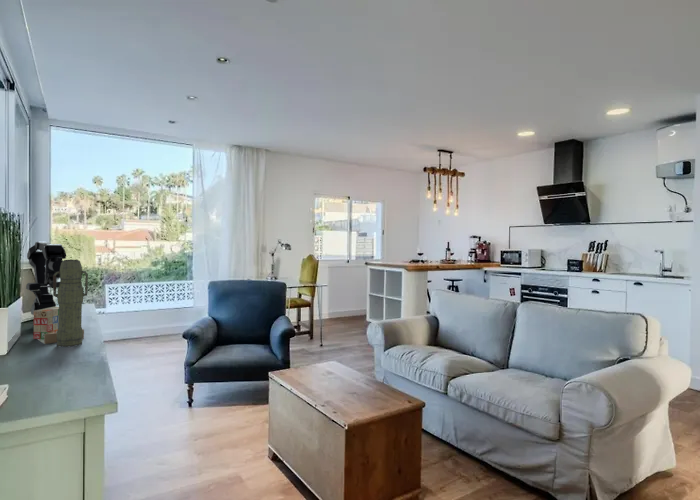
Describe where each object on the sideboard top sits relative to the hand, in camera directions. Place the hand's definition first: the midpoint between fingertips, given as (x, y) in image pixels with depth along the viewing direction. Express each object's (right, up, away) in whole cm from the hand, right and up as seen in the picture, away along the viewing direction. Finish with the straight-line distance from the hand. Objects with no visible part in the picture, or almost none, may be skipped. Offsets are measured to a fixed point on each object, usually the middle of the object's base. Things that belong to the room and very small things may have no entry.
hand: (52, 303), depth 193 cm
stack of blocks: (+8, -13, -6) cm, 16 cm away
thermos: (+24, -14, -23) cm, 36 cm away
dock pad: (+15, -13, -15) cm, 25 cm away
